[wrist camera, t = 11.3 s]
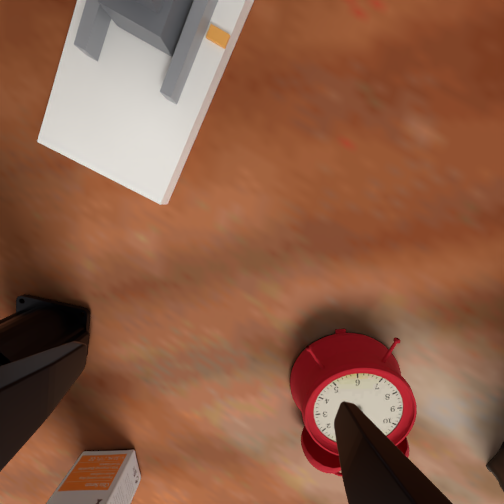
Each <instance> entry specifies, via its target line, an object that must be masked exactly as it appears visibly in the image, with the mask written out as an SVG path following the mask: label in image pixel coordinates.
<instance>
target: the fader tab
mask: <svg viewBox="0 0 504 504" xmlns="http://www.w3.org/2000/svg"><path fill="white" fill-rule="evenodd" d="M193 1H194V0H98V3H99V4H100V5H101V6H102V8H103V9H104V10H105V11H106V13H107V14H108V15H109V16H110V18H111V19H112V20H113V21H114V22H115V24H116V25H117V26H118V27H120V28H121V29H123V30H125V31H127V32H129V33H130V34H132V35H134V36H136V37H137V38H139V39H141V40H143V41H145V42H146V43H148V44H150V45H152V46H153V47H155V48H157V49H159V50H161V51H162V52H164V53H166V54H168V55H169V56H171V57H172V56H173V54H174V51H175V48H176V46H177V43H178V41H179V38H180V35H181V33H182V30H183V27H184V25H185V22H186V19H187V17H188V14H189V11H190V9H191V6H192V3H193Z"/></svg>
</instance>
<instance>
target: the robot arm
mask: <svg viewBox="0 0 504 504" xmlns="http://www.w3.org/2000/svg"><path fill="white" fill-rule="evenodd" d="M82 312H83V313H84V314H85V315H84V314H83V313H82ZM89 323H90V311H89V309H87V308H84V307H80V306H76V305H71V304H67V303H62V302H58V301H53V300H49V299H45V298H40V297H36V296H31V295H27V294H24V295H21V296H19V297H17V300H16V313H15V314H12V315H10V316H8V317H6V318H4V319H2V320H0V471H1V470H2V469H3V468H4V467H5V466H6V464H7V463H8V462H9V461H10V460H11V459H12V458H13V457H14V455H15V454H16V453H17V452H18V451H19V450H20V449H21V447H22V446H23V445H24V444H25V443H26V442H27V441H28V440H29V438H30V437H31V436H32V435H33V434H34V433H35V432H36V431H37V429H38V428H39V427H40V426H41V425H42V424H43V422H44V421H45V420H46V419H47V418H48V416H49V415H50V414H51V413H52V411H53V410H54V409H55V407H56V406H57V405H58V403H59V402H60V401H61V399H62V398H63V397H64V395H65V394H66V393H67V391H68V390H69V389H70V387H71V386H72V385H73V383H74V382H75V381H76V379H77V378H78V377H79V375H80V374H81V373H82V371H83V369H84V367H85V365H86V356H87V354H88V344H89ZM334 430H335V436H336V442H337V448H338V454H339V460H340V466H341V472H342V477H343V482H344V486H345V491H346V495H347V499H348V503H349V504H452V503H451V502H450V501H449V499H448V498H447V497H446V496H445V495H444V494H443V493H442V492H441V491H440V490H439V489H438V488H437V487H436V486H435V485H434V484H433V483H432V482H431V481H430V480H429V479H428V478H427V477H426V476H425V475H424V474H423V473H422V472H421V471H420V470H419V469H418V468H417V467H416V466H415V465H414V464H413V463H412V462H411V461H410V460H409V459H408V458H407V457H406V456H405V455H404V454H403V453H402V452H401V451H400V450H399V449H398V448H397V447H396V445H395V444H394V443H393V442H392V441H391V440H390V439H389V438H388V437H387V436H386V435H385V434H384V433H383V432H382V431H381V430H380V429H379V428H378V427H377V426H376V425H375V424H374V423H373V422H372V421H371V420H370V419H369V418H368V417H367V416H366V415H365V414H364V413H363V412H362V411H361V410H360V409H359V408H358V407H357V406H356V405H355V404H353V403H350V402H345V401H343V402H341V404H340V406H339V409H338V411H337V414H336V417H335V420H334Z"/></svg>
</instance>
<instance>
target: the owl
mask: <svg viewBox="0 0 504 504" xmlns="http://www.w3.org/2000/svg"><path fill="white" fill-rule="evenodd" d="M486 467H487V469H488V470H489V471H490V472H492V473H493V475H494V476H495V477H496V479H497V480H498V482H499V485H500V486H501V488H502V490H503V492H504V442H503V444H502V446H501V448H500V450H499V452H498V453H497V454H496V455H495V457H494V458H493V459H492V460H491V461H490V462H488V463H487V465H486Z"/></svg>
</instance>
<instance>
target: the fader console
mask: <svg viewBox="0 0 504 504" xmlns="http://www.w3.org/2000/svg"><path fill="white" fill-rule="evenodd" d="M253 2H254V0H194V1H193V3H192V6H191V9H190V11H189V14H188V17H187V19H186V22H185V25H184V27H183V30H182V33H181V35H180V38H179V41H178V43H177V46H176V48H175V51H174V54H173V56H172V57H171V56H169V55H168V54H166V53H164V52H162V51H161V50H159V49H157V48H155V47H153V46H152V45H150V44H148V43H146V42H145V41H143V40H141V39H139V38H137V37H136V36H134V35H132V34H130V33H129V32H127V31H125V30H123V29H121V28H120V27H118V26H117V25H116V24H115V22H114V21H113V20H112V19H111V18H110V16H109V15H108V14H107V13H106V11H105V10H104V9H103V8H102V6H101V5H100V4H99V3H98V0H77V3H76V6H75V10H74V13H73V17H72V20H71V24H70V28H69V31H68V35H67V38H66V42H65V45H64V49H63V52H62V56H61V59H60V63H59V66H58V70H57V73H56V77H55V80H54V84H53V88H52V91H51V95H50V98H49V102H48V105H47V109H46V112H45V116H44V119H43V123H42V126H41V130H40V133H39V137H38V141H37V142H39V143H41V144H42V145H44V146H46V147H48V148H50V149H52V150H54V151H56V152H58V153H60V154H62V155H64V156H66V157H68V158H70V159H72V160H74V161H76V162H78V163H80V164H82V165H84V166H86V167H88V168H90V169H92V170H94V171H96V172H98V173H99V174H101V175H103V176H105V177H107V178H109V179H111V180H113V181H115V182H117V183H119V184H121V185H123V186H125V187H127V188H129V189H131V190H133V191H135V192H137V193H139V194H141V195H143V196H145V197H147V198H149V199H151V200H153V201H155V202H156V203H158V204H168V202H169V200H170V197H171V195H172V193H173V190H174V188H175V186H176V183H177V181H178V179H179V176H180V174H181V172H182V169H183V167H184V164H185V162H186V160H187V157H188V155H189V153H190V150H191V148H192V146H193V143H194V141H195V139H196V136H197V134H198V131H199V129H200V127H201V124H202V122H203V120H204V117H205V115H206V113H207V110H208V108H209V106H210V103H211V101H212V98H213V96H214V94H215V91H216V89H217V87H218V84H219V82H220V80H221V77H222V75H223V73H224V70H225V68H226V65H227V63H228V61H229V58H230V56H231V54H232V51H233V49H234V47H235V44H236V42H237V40H238V37H239V35H240V32H241V30H242V28H243V25H244V23H245V21H246V18H247V16H248V14H249V11H250V9H251V7H252V4H253Z"/></svg>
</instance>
